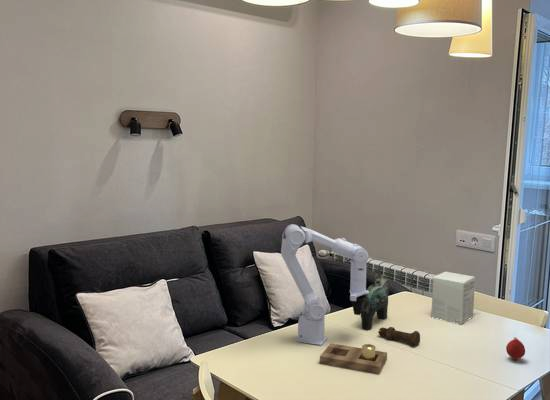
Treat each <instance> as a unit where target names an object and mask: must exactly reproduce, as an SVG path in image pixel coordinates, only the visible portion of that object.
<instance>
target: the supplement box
mask: <svg viewBox="0 0 550 400" xmlns="http://www.w3.org/2000/svg"><path fill="white" fill-rule="evenodd" d="M475 283H476V276H473V275H468V274H461V273H455V272H450V271H444V272H441V273H439V274H437V275H435V276H433V277H432V293H431V294H432V296H431V297H432V298H431V314H430V315H431V316H430V317H431V318H432V317H434V318H433V319H436V318H438V319H437V320H440V319H442V320H441V321H444V320H446V321H445V322H448V321H451V322H450V323H452V322H455V323H454V324H456V323H459V324H458V325H461V324H462V323H463V324H465V323H466V322H468V321H469V320H470V319H469V318H471V317H472V316H473V317H474V306H475V305H474V303H475V287H476V286H475V285H476V284H475ZM473 317H472V318H473ZM472 318H471V319H472ZM468 319H469V320H468ZM467 320H468V321H467ZM465 321H466V322H465ZM464 322H465V323H464ZM463 324H462V325H463Z"/></svg>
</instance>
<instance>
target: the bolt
mask: <svg viewBox="0 0 550 400" xmlns="http://www.w3.org/2000/svg"><path fill="white" fill-rule="evenodd" d="M377 332H378V334H379V336H381V337H384V338H386V340H389V341H393V340H399V341H402V342H405V343H410V345H411V347H415V348H416V347H418V346H419V345H420V342H421V334H420V332H419V331H418V330H415V331H413V332H411V333H410V332H406V331H401V330H396V329H395V327H393V326H389V327H388V328H387V327H379V328H378V331H377Z"/></svg>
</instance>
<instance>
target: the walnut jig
mask: <svg viewBox="0 0 550 400" xmlns="http://www.w3.org/2000/svg"><path fill="white" fill-rule="evenodd" d="M387 361H388V352H386V351H380V350H375V361H369V360H363V359H362V347H355V346H351V345H344V344H338V343H332V342H330V343H329V345H327V347H326V348H325V349H324V350H323V352H322V353H321V354H320V355H319V364H320V365H321V364H322V365H328V366H332V367H338V368H342V369H343V368H344V369H348V370H354V371H355V370H356V371H360V372H366V373H370V374H378V375H380V374H381V372H382V370H383V368H384V366H385V364H386V363H387Z"/></svg>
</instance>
